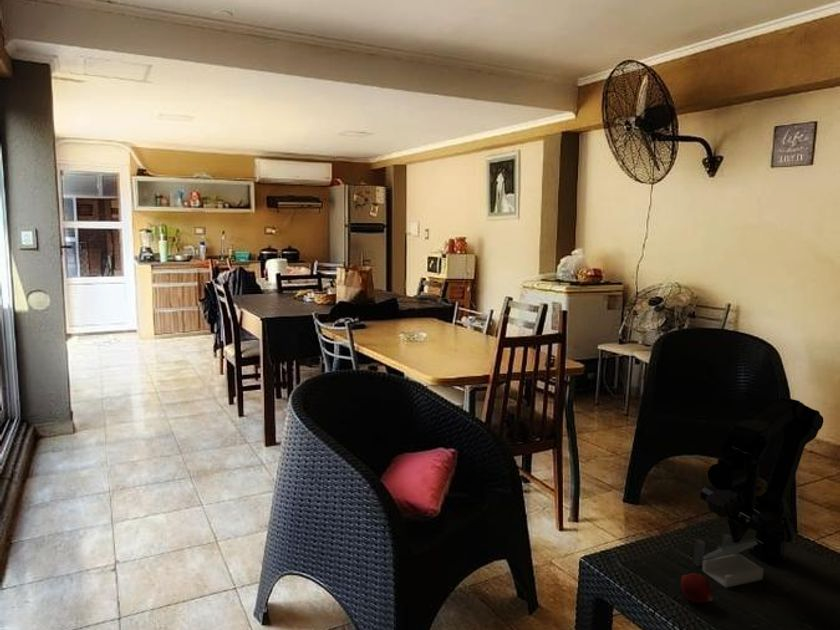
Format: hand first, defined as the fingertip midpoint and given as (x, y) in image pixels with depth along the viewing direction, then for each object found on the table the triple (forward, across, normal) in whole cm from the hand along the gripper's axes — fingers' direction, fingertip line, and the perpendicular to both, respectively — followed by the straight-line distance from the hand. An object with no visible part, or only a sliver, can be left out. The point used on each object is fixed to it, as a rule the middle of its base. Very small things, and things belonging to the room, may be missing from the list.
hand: (736, 542), depth 142 cm
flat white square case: (+8, -2, 0) cm, 9 cm away
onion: (+5, +1, -16) cm, 17 cm away
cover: (+3, -1, 0) cm, 3 cm away
